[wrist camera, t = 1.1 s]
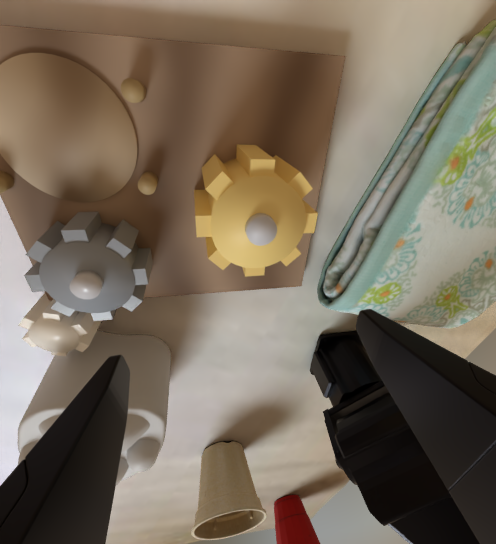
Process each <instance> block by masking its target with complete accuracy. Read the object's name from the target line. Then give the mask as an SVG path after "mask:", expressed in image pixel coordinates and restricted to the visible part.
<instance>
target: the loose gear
mask: <svg viewBox="0 0 496 544" xmlns="http://www.w3.org/2000/svg"><path fill="white" fill-rule="evenodd" d="M202 174H203V180H204V186H205V190H194V201H195V219H196V235H197V237H205V238H206V246H207V255H208V259H209V260H210V261H212V262H213V263H214V264H216V265H217V266H218V267H219V268H221V269H222V270H224V269H225V268H226V267H227V266H228V265H229V264H230V263H233V264H235V265H238V266H241V267H242V268H243V271H244V275H245V277H246V276H262V275H264V273H265V267H267V266H270V265H273V264H275V263H277V262H279V261H281V262H282V263H283V264H284V265H285V266H287V265H289V264H290V263H291V262H292V261H293V260H295V259H296V258H297V257H298V256H299V255H301V252H300V251H299V250H298V248H297V247H296V246H297V245H298V243H299V242H300V240H301V238H302V236H303V233H314V231H315V226H316V221H317V216H318V213H317V212H316V211H315V210H314V209H313V208H312V207H311V206H310V205H309V204H307V203H306V202H305V201H304V200H303V199H302V198H303V197H304V196H306V195H307V194H308V193H309V192H310V191H311V190H312V189H313V188H312V187H311V185H310V184H309V183H308V181H307V180H306V179H305V177H304V176H303V175H302V173H301V172H300V171H298V170H297V169H295V168H294V167H293V166H291V165H290V164H288V163H287V162H285V161H284V160H282V159H281V158H279V157H278V156H276V155H275V156H274V157H271V156H270V155H268V154H267V153H266V152H264V151H263V150H262V149H260V148H259V147H258V146H256V145H237V149H236V159H233V160H230V161H228V162H226V163H223V162H222V161H221V160H220V159H219V158H218V157H217V156H216V155H215V154H214V155H213V156H212V157H211V158H210V159H209V161H208V162H207V163H206V164H205V165H204V166H203V167H202Z"/></svg>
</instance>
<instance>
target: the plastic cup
mask: <svg viewBox="0 0 496 544" xmlns="http://www.w3.org/2000/svg"><path fill="white" fill-rule="evenodd" d="M274 513H275V529H276V540H277V544H320V542H319V540H318V538H317V535H316V533H315V531H314V529H313V526H312V524H311V521H310V519H309V517H308V515H307V513H306V511H305V508H304V506H303V503H302V501H301V499H300V497H299V496H298V495H288V496H285V497H282V498H280V499H278V500H277V501H275V503H274Z"/></svg>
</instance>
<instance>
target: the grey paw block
mask: <svg viewBox="0 0 496 544" xmlns="http://www.w3.org/2000/svg"><path fill="white" fill-rule="evenodd" d="M119 354H120V355H123V357H124V359H125V361H126V363H127V365H128V367H129V369H130V386H129V402H128V416H127V423H126V429H125V435H124V440H123V446H122V452H121V457H120V463H119V469H118V474H117V480H116V485H117V484H118V483H119V482H120V481H122V480H124V479H127V478H129V477H132V476H133V475H135V474H137V473H139V472H144V471H147V470H149V469H150V468H151V467H152V466H153V464H154V463H155V461H156V459H157V456H158V454H159V452H160V450H161V448H162V445H163V442H164V438H165V432H166V424H167V410H168V396H169V381H170V366H171V352H170V349H169V347H168V346H167V345H166V343H165V342H163V341H162V340H161V339H159V338H157V337H154V336H150V335H119V334H112V333H107V332H102V331H96V333H95V335H94V337H93V339H92V341H91V343H90V345H89V346H88V347H87V348H86V349H85V350H84V352H80V351H78V350H76V349H74V350H72V351H69V352H68V354H67V356H58V355H55V356H54V358H53V360H52V362H51V364H50V366H49V368H48V370H47V372H46V373H45V375H44V377H43V379H42V381H41V383H40V385H39V387H38V389H37V391H36V393H35V395H34V397H33V399H32V401H31V403H30V405H29V407H28V409H27V411H26V413H25V414H24V416H23V418H22V420H21V422H20V425H19V428H18V450H19V452H20V456H19V461H18V465H19V463H20V462H21V461H22V460H23V459H25V456H26V455H27V454H28V453H29V452H30V450H31V449H32V448H33V447H34V446H35V444H36V443H37V442H38V441H39V440H40V438H41V437H42V436H43V435H44V434H45V432H46V431H47V430H48V429H49V428H50V426H51V425H52V424H53V423H54V422H55V421H56V419H57V418H58V417H59V416H60V415H61V413H62V412H63V411H64V410H65V409H66V407H67V406H68V405H69V404H70V403H71V401H72V400H73V399H74V398H75V397H76V395H77V394H78V393H79V392H80V391H81V389H82V388H83V387H84V386H85V385H86V383H87V382H88V381H89V380H90V379H91V377H92V376H93V375H94V374H95V373H96V371H97V370H98V369H99V368H100V367H101V365H102V364H103V363H104V362H105V361H106V359H107V358H108V357H110V356H114V355H119Z"/></svg>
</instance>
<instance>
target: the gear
mask: <svg viewBox="0 0 496 544" xmlns="http://www.w3.org/2000/svg"><path fill="white" fill-rule="evenodd" d="M138 232H139V230H137V229H136V228H134V227H133V226H132V225H130V224H129V223H128V222H126V221H125V220H122V221H121V222H120V223H119V224H118V226H117V227H114V226H112V225H109V224H105V223H102V222H101V218H100V214H99V212H78V213H77V214H76V215H75V216H74V217H73V218H72V219H71V220H70V221H69V222H68V223H67V224H66V225H63V224H62V223H60V222H59V221H57V222H56V223H55V224H54V225H53V226H52V227H51V228H49V229H48V230H47V231H46V232H45V233H44V234H43V235H42V236H41V237H40V238H39V239H38V240H37V241H36V242H35V244H34V245H33V246H32V247H31V249H30V250H29V251H28V253H27V254H26V255H27V256H29V257H31V258H32V259H34V260H36V261H37V262H36V263H35V264H34V265H33V267H32V268H31V269H30V270H29V271H28V272H27V273H26V274H25V275H24V276H25V278H26V280H27V282H28V284H29V286H30V288H31V290H32V292H39V291H47V293H48V294H49V295H50V296H51V297H52V298H53V299H55V302H54V303H53V305H52V307H51V309H53V310H56V311H58V312H60V313H62V314H64V315H66V316H69V317H70V316H71V315H72V313H73V312H74V311H75V310H76V311H80V312H86V313H91V315H92V318H93V321H101V320H113V317H114V314H115V311H116V309H117V308H119V307H121V306H122V307H124V308H126V309H128V310H130V311H131V312H132V311H133V310H134V309H135V308H136V307H137V306H138V305H139V304H140V303H141V302H142V301H143V298H144V293H145V289H146V284H148V283H149V278H150V273H151V269H152V264H153V260H152V254H151V248H138V246H137V244H136V243H135V240H136V237H137V235H138Z"/></svg>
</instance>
